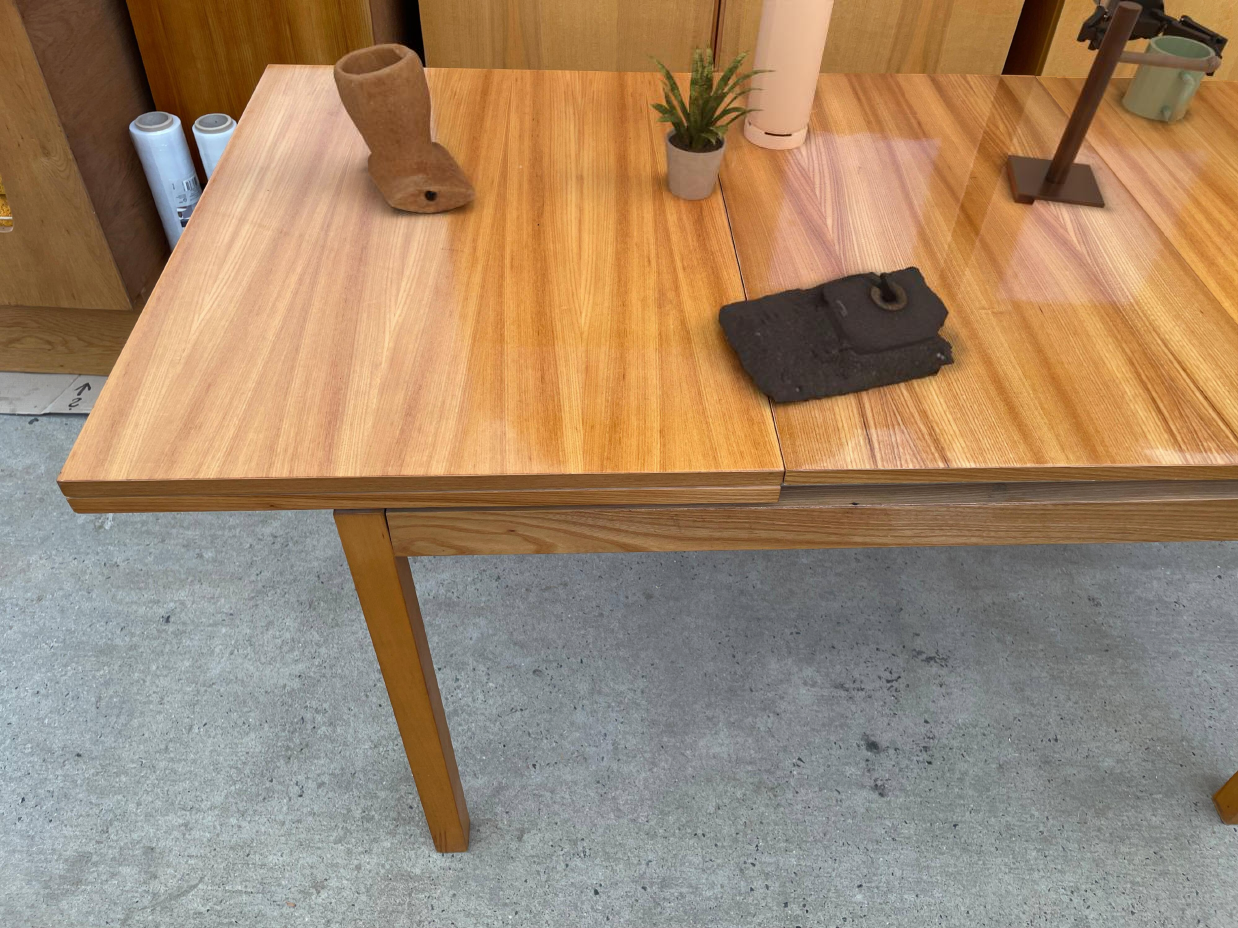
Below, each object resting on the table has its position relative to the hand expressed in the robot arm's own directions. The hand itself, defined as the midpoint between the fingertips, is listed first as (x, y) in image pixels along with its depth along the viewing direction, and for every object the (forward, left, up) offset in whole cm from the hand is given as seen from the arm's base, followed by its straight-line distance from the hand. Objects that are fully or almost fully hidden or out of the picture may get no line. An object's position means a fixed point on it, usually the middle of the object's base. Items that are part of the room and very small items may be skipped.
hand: (1164, 61), depth 124 cm
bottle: (+40, +42, -6) cm, 58 cm away
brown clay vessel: (+69, +80, -6) cm, 106 cm away
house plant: (+41, +61, -6) cm, 74 cm away
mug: (-2, +5, -6) cm, 8 cm away
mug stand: (+3, +33, -6) cm, 34 cm away
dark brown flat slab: (+17, +79, -6) cm, 81 cm away
